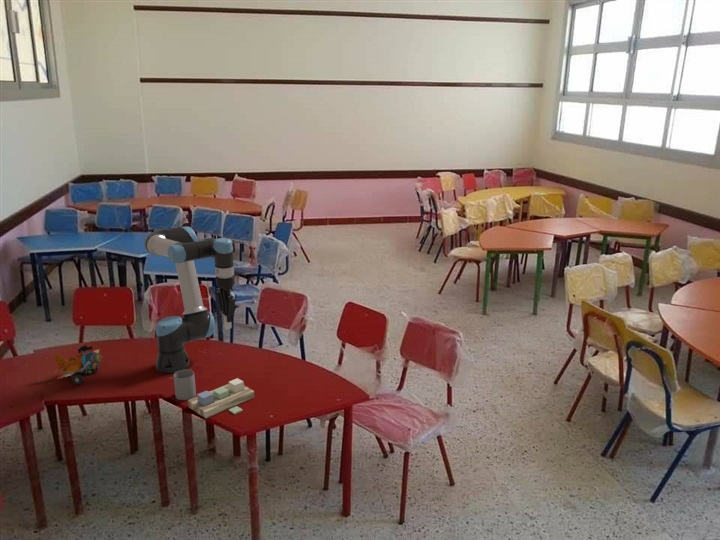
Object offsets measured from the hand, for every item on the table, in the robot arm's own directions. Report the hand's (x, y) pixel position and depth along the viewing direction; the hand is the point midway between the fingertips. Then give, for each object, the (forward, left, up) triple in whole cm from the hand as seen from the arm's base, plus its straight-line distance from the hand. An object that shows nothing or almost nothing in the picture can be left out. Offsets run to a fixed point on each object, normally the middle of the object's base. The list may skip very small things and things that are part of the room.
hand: (228, 328), depth 247 cm
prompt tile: (+19, -11, -27) cm, 35 cm away
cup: (-7, -18, -28) cm, 34 cm away
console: (+9, -11, -27) cm, 31 cm away
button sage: (+9, -11, -27) cm, 30 cm away
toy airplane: (-55, -43, -28) cm, 76 cm away
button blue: (+9, -18, -25) cm, 32 cm away
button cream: (+9, -3, -25) cm, 27 cm away
